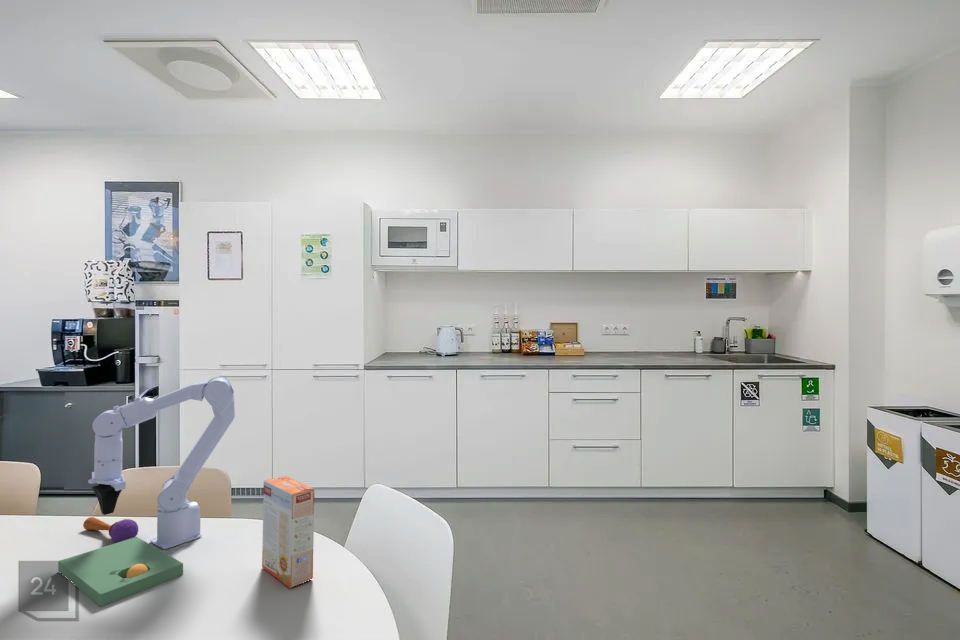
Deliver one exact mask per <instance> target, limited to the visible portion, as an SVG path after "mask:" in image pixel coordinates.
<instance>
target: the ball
mask: <svg viewBox="0 0 960 640" xmlns="http://www.w3.org/2000/svg"><path fill="white" fill-rule="evenodd" d="M146 572H148V568H147V567H146V566H145V565H144V564H136V565H134V566H132V567H131V568H130V569H129V570H128V572H127V575H126V578H133V577H135V576H138V575H141V574H144V573H146Z"/></svg>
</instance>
